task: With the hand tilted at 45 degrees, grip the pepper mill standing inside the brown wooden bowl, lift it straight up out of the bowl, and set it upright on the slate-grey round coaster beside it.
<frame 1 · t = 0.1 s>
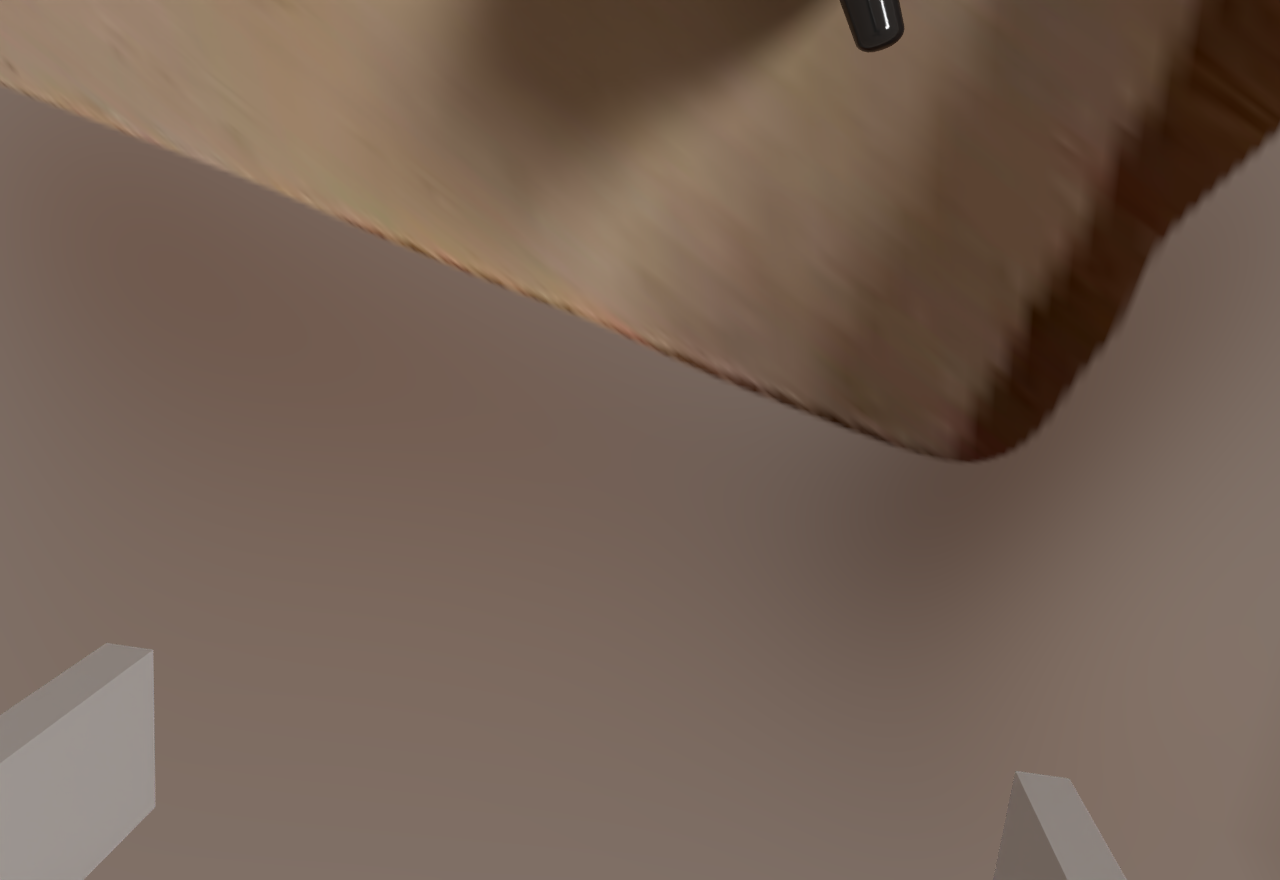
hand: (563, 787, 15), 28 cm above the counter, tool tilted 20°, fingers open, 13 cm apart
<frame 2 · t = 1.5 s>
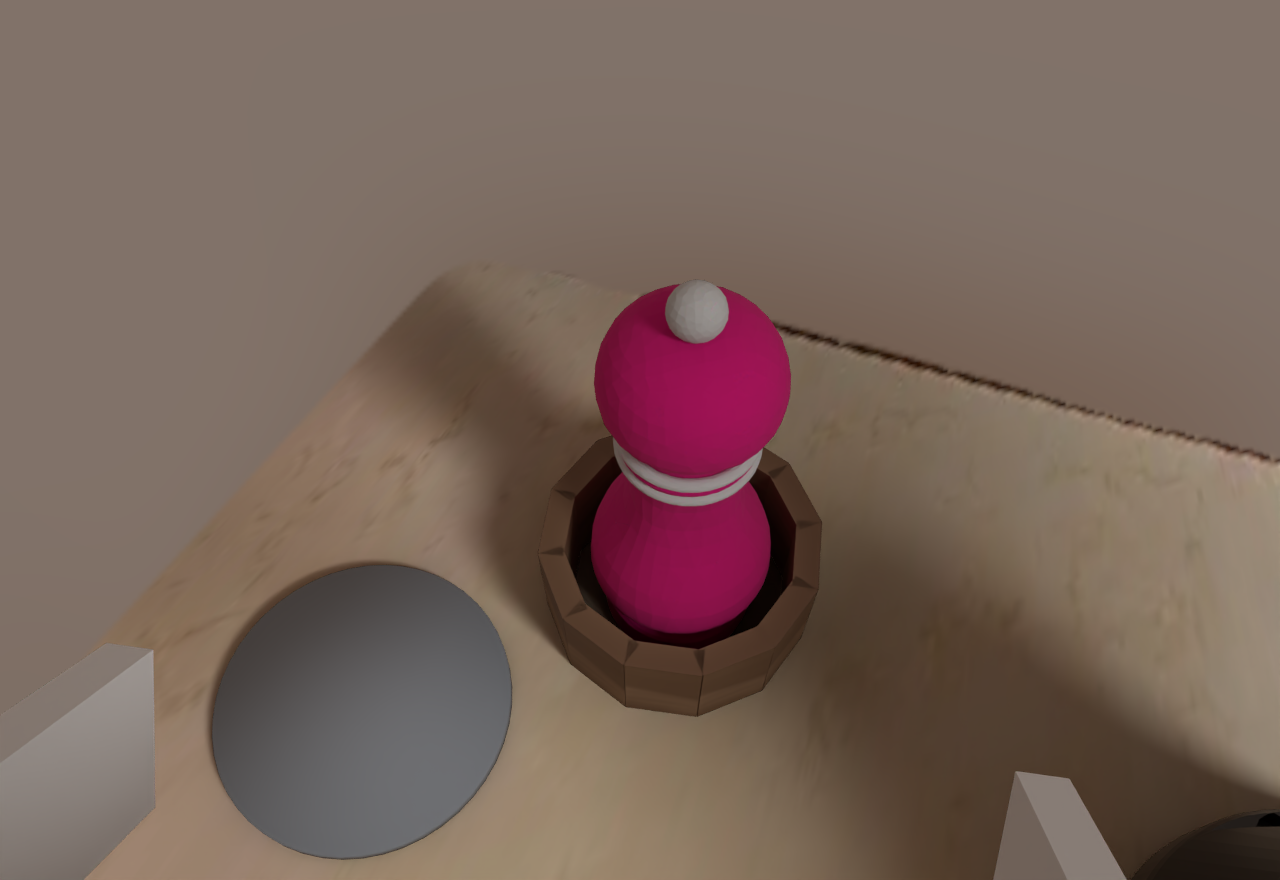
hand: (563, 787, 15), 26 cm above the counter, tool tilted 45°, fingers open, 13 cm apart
pepper mill: (677, 590, 45), resting in brown wooden bowl
brown wooden bowl: (677, 588, 45), on the counter
coaster: (366, 704, 42), on the counter
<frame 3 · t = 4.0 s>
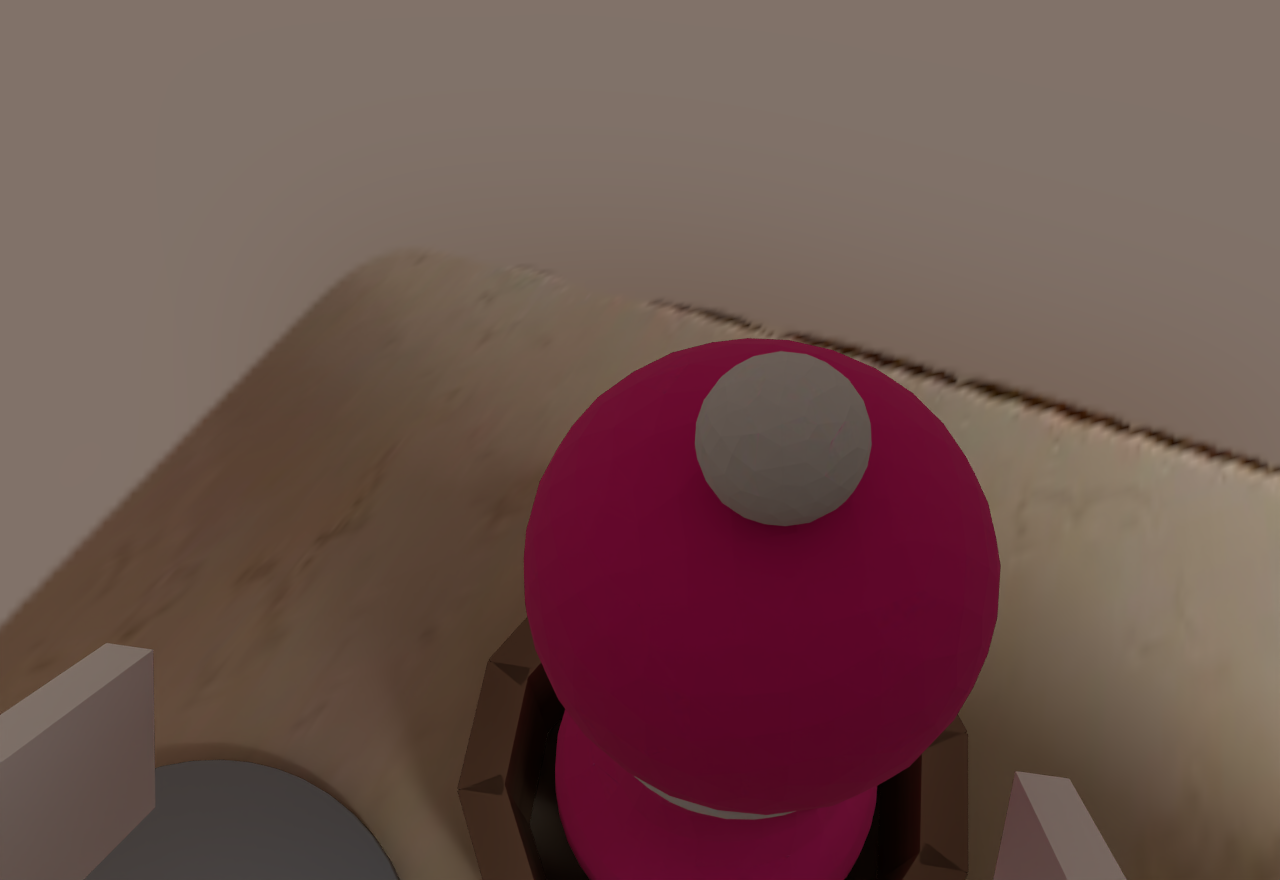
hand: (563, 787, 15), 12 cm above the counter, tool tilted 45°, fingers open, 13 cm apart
pepper mill: (705, 806, 27), resting in brown wooden bowl
brown wooden bowl: (705, 804, 27), on the counter
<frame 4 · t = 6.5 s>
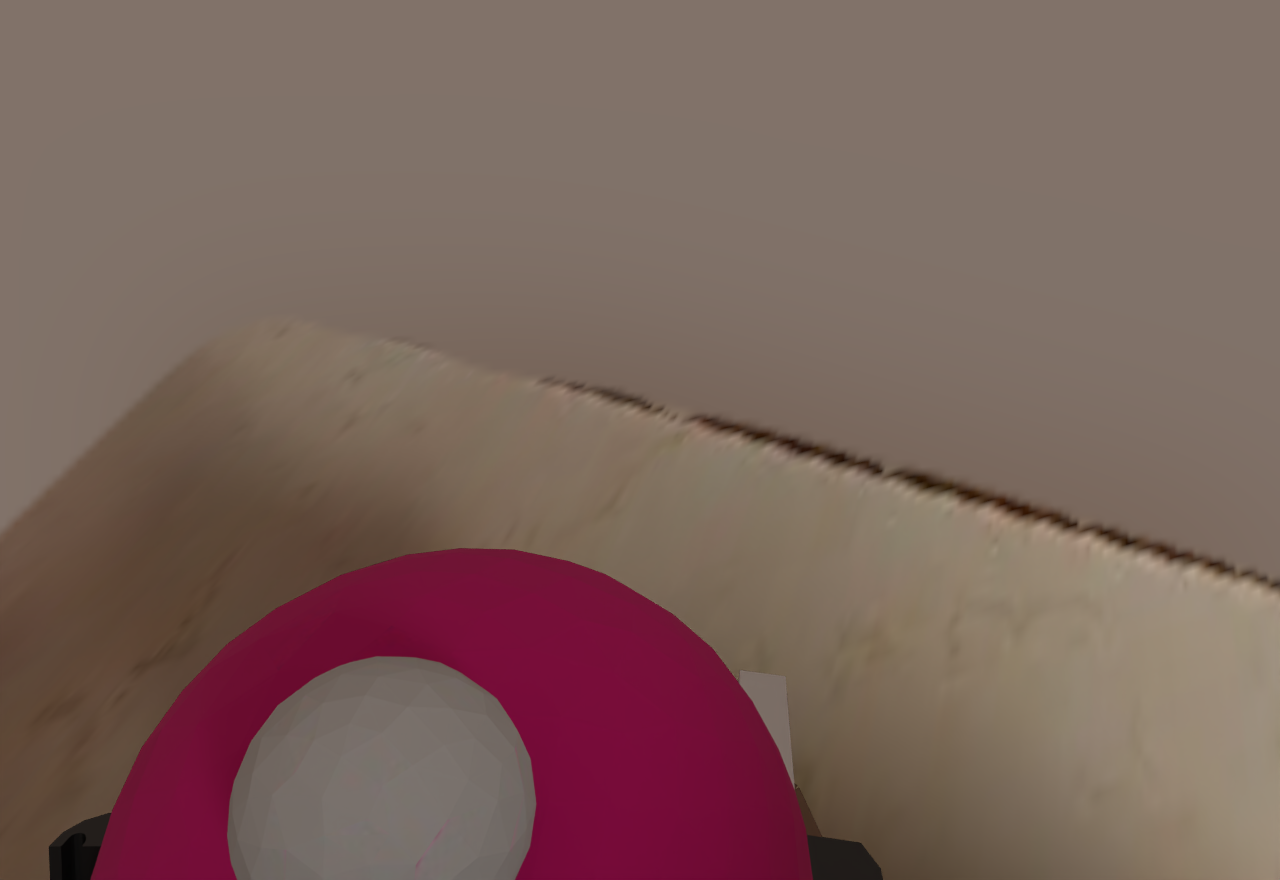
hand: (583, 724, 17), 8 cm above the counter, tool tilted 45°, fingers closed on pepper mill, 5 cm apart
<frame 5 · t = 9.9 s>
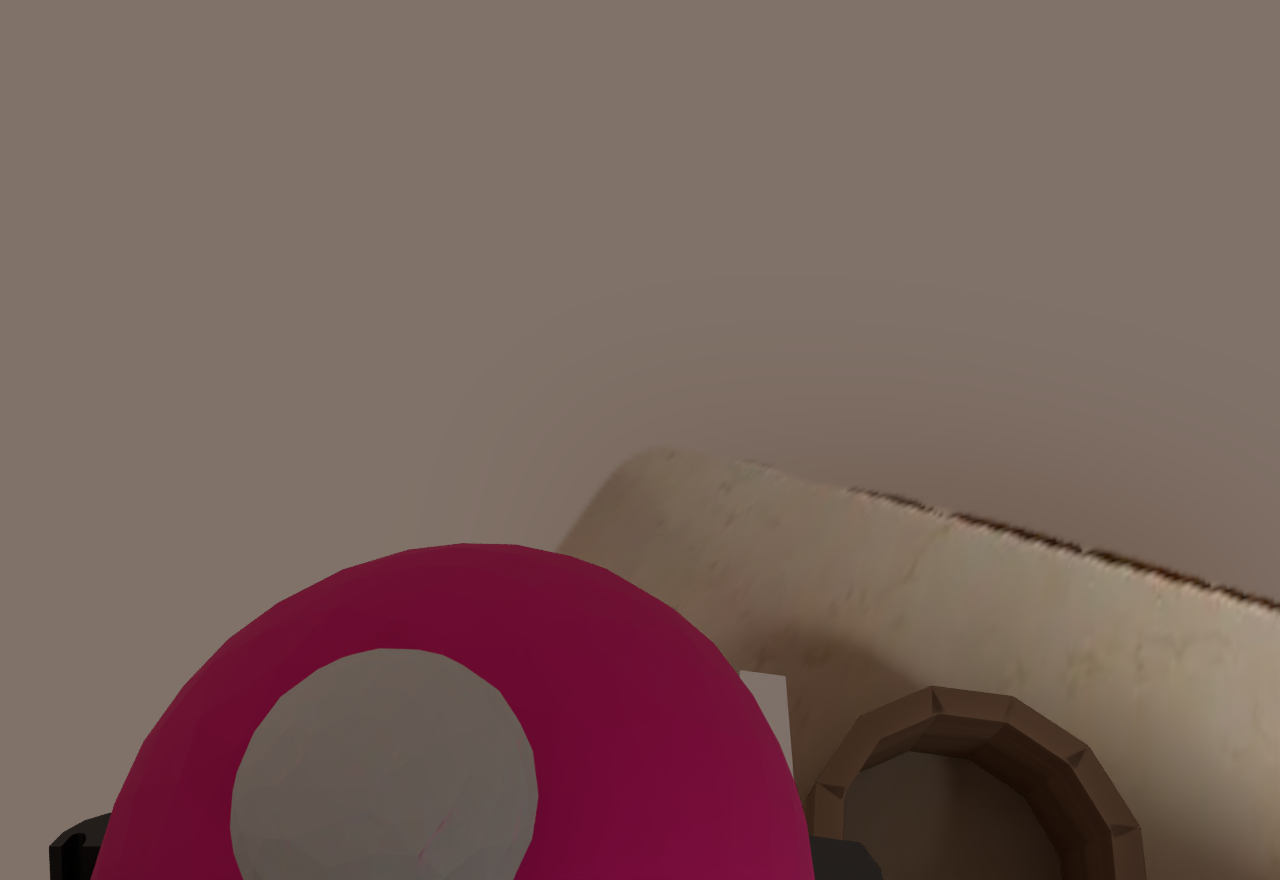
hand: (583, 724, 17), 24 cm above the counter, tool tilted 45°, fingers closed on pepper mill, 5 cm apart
brown wooden bowl: (941, 874, 39), on the counter
when the fingers open (10 cm above the counter, at t = 13.3 s): pepper mill stays where it is, resting on coaster.
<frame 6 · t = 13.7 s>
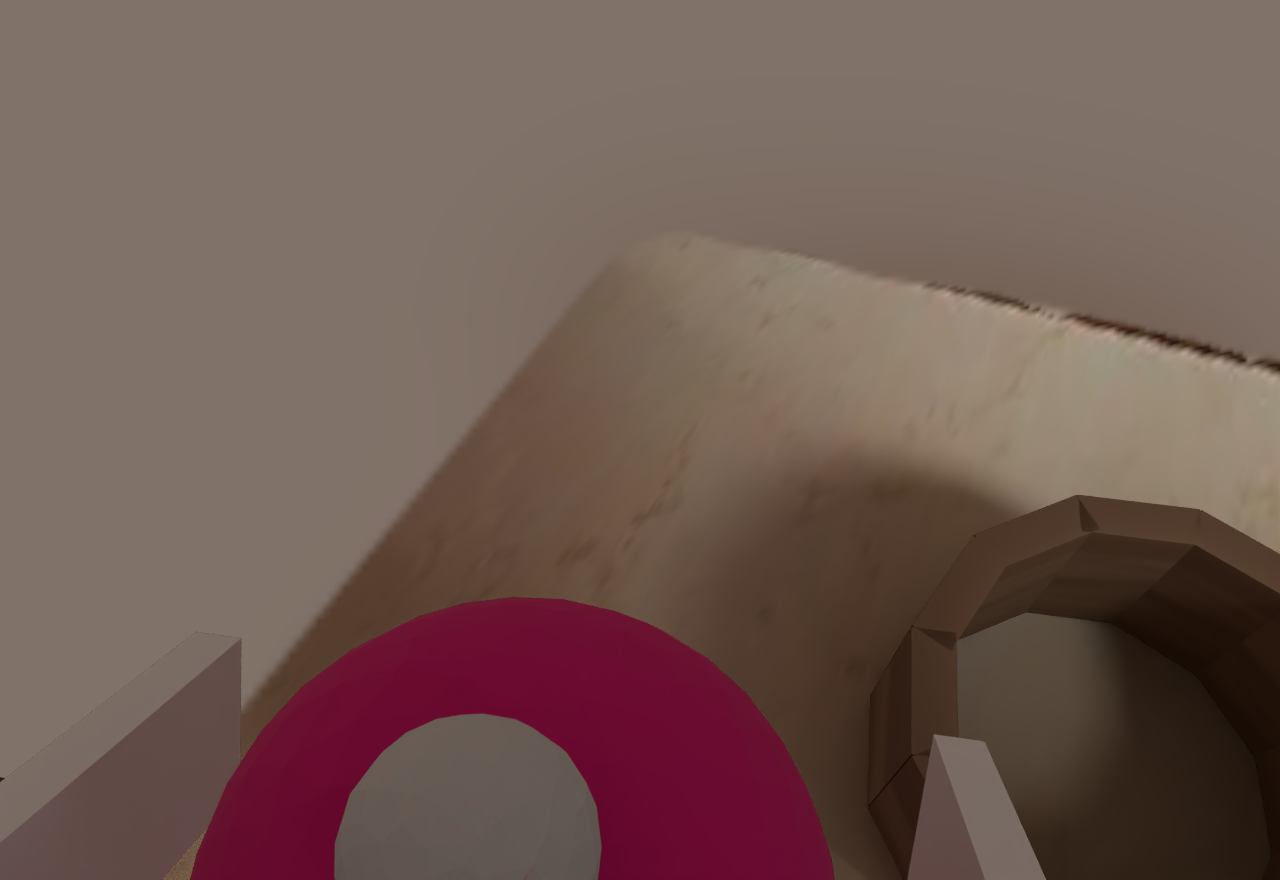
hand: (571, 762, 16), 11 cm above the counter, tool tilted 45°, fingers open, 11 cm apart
brown wooden bowl: (1083, 779, 26), on the counter
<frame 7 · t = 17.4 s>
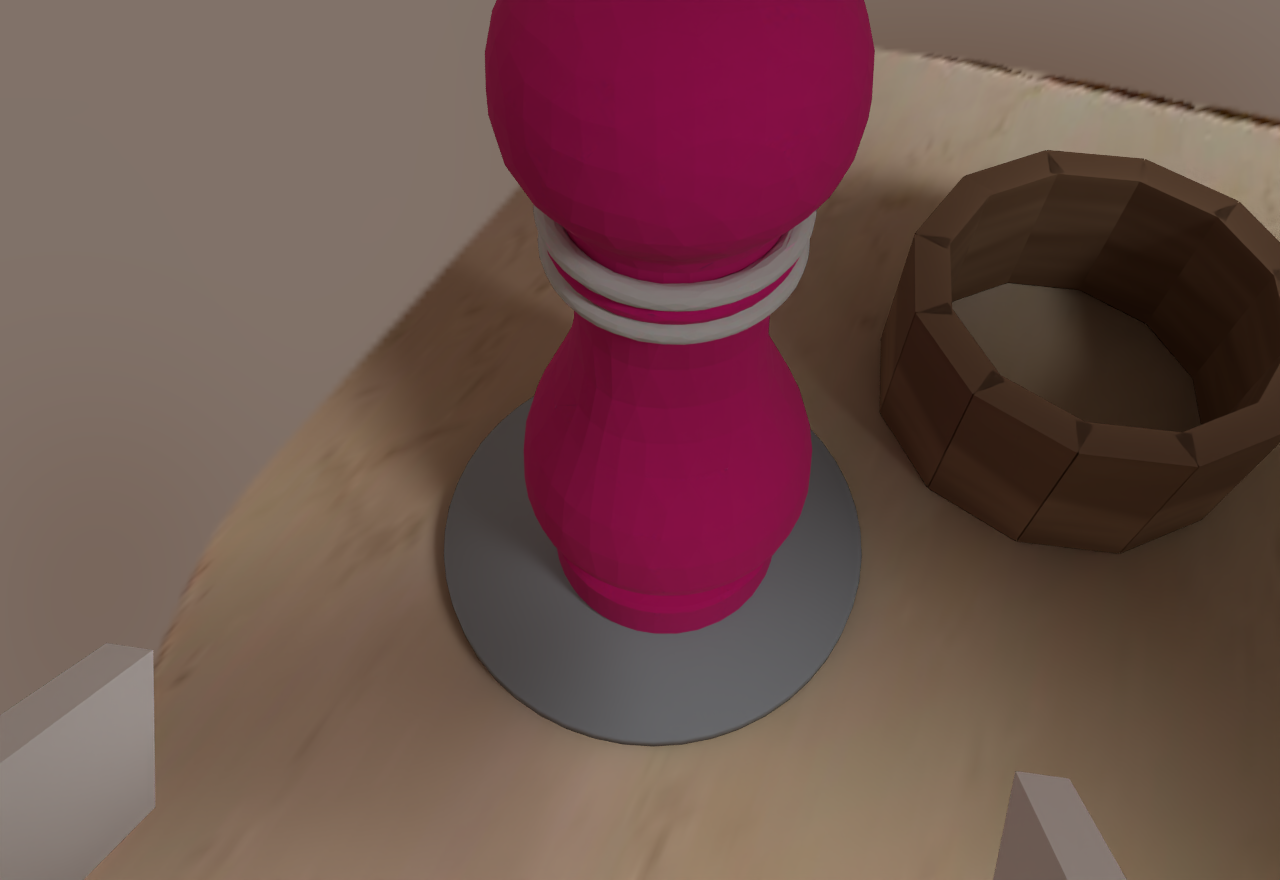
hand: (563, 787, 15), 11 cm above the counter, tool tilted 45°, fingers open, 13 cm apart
pepper mill: (664, 536, 30), resting on coaster
brown wooden bowl: (1053, 393, 33), on the counter
coaster: (652, 540, 30), on the counter
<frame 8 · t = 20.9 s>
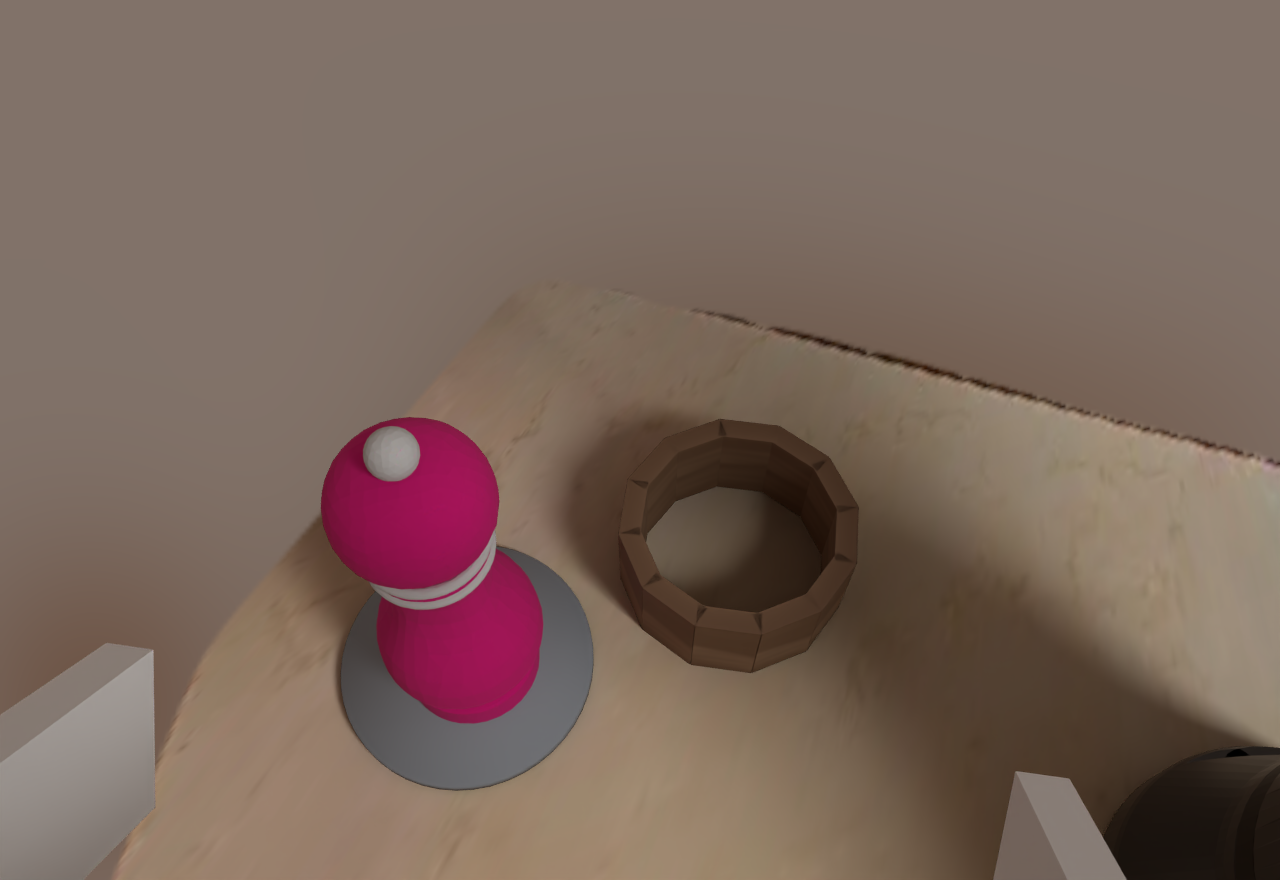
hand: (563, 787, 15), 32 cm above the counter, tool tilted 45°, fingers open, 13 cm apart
pepper mill: (475, 661, 49), resting on coaster
brown wooden bowl: (731, 565, 52), on the counter
coaster: (469, 662, 49), on the counter
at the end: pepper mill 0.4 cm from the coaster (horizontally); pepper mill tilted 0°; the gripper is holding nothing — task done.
